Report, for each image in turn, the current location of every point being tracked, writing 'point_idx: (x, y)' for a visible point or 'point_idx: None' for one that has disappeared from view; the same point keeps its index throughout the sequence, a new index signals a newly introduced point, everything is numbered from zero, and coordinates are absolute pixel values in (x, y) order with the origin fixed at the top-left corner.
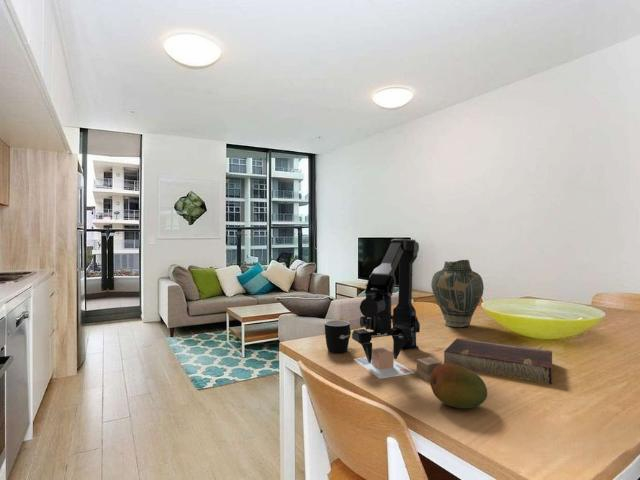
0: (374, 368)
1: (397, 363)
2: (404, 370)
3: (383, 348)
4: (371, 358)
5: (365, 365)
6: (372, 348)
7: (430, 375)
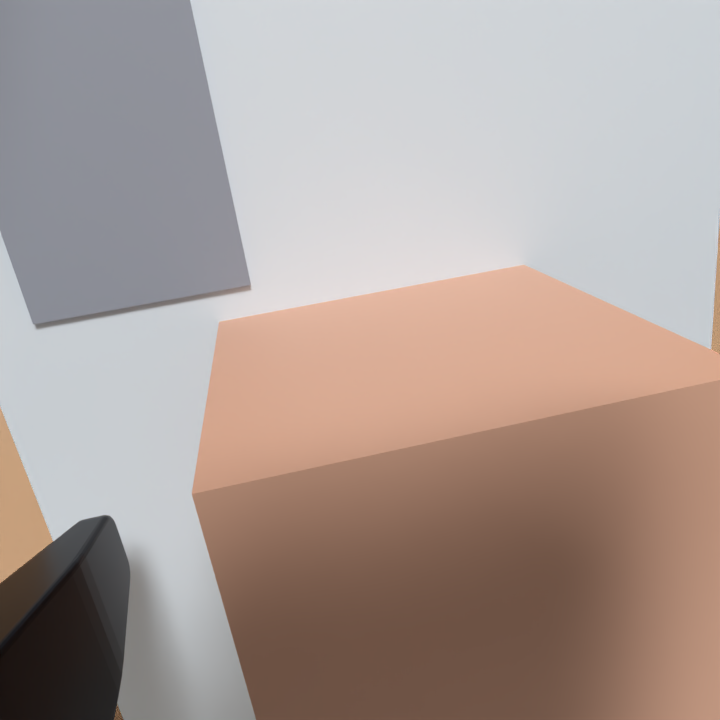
0: None
1: None
2: None
3: (604, 541)
4: (118, 685)
5: (67, 376)
6: (228, 501)
7: None
